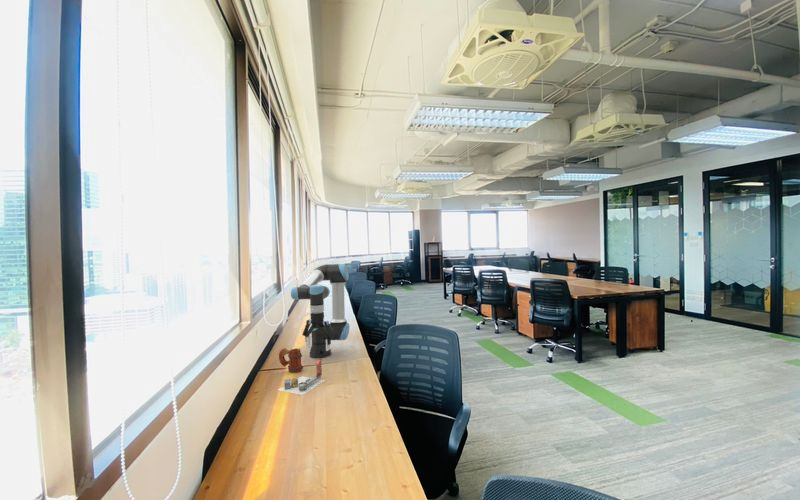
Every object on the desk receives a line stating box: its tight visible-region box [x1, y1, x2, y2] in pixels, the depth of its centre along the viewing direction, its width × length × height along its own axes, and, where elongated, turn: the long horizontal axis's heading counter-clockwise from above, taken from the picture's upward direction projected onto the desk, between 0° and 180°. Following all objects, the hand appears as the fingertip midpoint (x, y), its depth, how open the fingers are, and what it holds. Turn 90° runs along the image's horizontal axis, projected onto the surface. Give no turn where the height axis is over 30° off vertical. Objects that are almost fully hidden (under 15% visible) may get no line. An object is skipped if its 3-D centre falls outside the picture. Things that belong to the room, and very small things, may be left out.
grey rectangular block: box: [283, 378, 292, 390], centre depth 176 cm, size 5×3×4 cm, turn 17°
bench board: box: [277, 375, 326, 396], centre depth 179 cm, size 19×17×2 cm
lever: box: [299, 358, 323, 390], centre depth 179 cm, size 18×4×10 cm, turn 157°
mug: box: [278, 347, 304, 374], centre depth 200 cm, size 15×8×15 cm, turn 84°
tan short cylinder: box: [291, 378, 298, 388], centre depth 177 cm, size 4×4×4 cm
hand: (318, 349), depth 185 cm, fingers open, 13 cm apart
